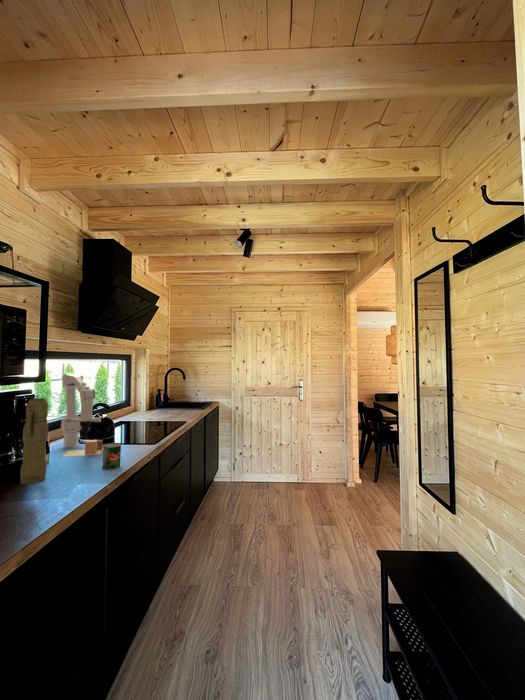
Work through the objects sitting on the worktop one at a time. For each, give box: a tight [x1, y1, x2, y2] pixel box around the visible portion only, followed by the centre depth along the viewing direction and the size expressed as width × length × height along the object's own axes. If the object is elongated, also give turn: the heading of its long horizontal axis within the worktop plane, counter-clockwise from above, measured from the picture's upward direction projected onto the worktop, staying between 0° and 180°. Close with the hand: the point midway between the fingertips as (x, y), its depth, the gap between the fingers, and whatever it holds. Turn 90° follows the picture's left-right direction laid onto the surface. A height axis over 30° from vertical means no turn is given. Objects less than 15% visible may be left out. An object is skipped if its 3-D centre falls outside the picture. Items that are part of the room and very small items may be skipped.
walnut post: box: [97, 439, 104, 451], centre depth 181 cm, size 3×3×5 cm
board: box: [62, 448, 103, 458], centre depth 174 cm, size 12×18×1 cm, turn 108°
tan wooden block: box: [84, 439, 99, 456], centre depth 174 cm, size 5×5×7 cm
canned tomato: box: [102, 442, 122, 471], centre depth 153 cm, size 8×8×11 cm
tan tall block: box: [19, 397, 49, 486], centre depth 134 cm, size 9×12×35 cm
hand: (85, 435), depth 174 cm, fingers closed
